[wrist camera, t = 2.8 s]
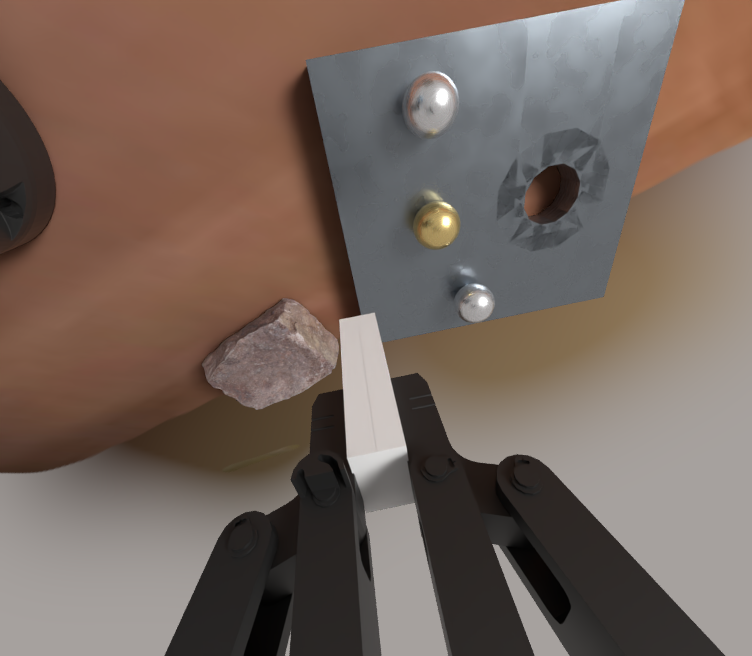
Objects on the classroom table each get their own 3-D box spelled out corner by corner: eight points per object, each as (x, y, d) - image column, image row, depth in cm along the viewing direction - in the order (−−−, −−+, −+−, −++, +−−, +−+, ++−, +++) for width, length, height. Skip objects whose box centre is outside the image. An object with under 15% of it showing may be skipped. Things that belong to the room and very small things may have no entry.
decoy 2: (448, 313, 31) (461, 334, 28) (447, 281, 29) (461, 299, 26) (484, 306, 31) (500, 326, 28) (485, 273, 29) (503, 290, 26)
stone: (199, 351, 33) (182, 383, 29) (285, 283, 30) (279, 308, 26) (266, 398, 38) (259, 430, 34) (345, 342, 35) (348, 370, 31)
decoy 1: (400, 142, 23) (411, 146, 20) (394, 79, 21) (405, 74, 18) (449, 132, 23) (467, 135, 20) (448, 69, 21) (467, 62, 18)
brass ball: (410, 244, 27) (421, 260, 24) (406, 201, 25) (417, 212, 22) (452, 236, 27) (467, 251, 24) (451, 192, 25) (467, 202, 22)
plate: (365, 331, 34) (367, 345, 32) (307, 65, 22) (305, 60, 20) (586, 285, 34) (603, 296, 32) (654, -1, 22) (688, -13, 20)
